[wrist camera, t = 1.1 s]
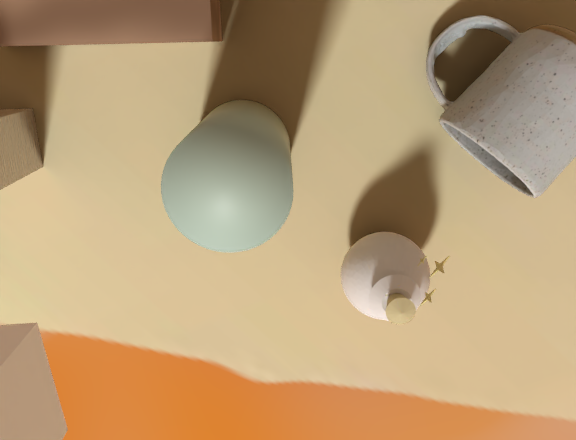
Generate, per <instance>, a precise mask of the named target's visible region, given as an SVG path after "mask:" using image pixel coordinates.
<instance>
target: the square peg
mask: <svg viewBox="0 0 576 440" xmlns="http://www.w3.org/2000/svg"><path fill="white" fill-rule="evenodd" d="M42 167H43V163H42V157H41V152H40V146H39V140H38V135H37V129H36V124H35V118H34V113H33V108H30V109H0V190H1V189H3V188H4V187H6V186H8V185H10V184H12V183H14V182H16V181H17V180H19V179H21V178H23V177H25V176H27V175H29V174H30V173H32V172H34V171H36V170H38V169H40V168H42Z"/></svg>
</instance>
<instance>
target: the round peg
mask: <svg viewBox="0 0 576 440" xmlns="http://www.w3.org/2000/svg"><path fill="white" fill-rule="evenodd" d="M161 194H162V199H163V203H164V207H165V210H166V212H167V214H168V216H169V218H170V219H171V221H172V223H173V224H174V225H175V227H176V228H177V229H178V230H179V231H180V232H181V233H182V234H183V235H184V236H185V237H187V238H188V239H189V240H191V241H192V242H194V243H196V244H197V245H199V246H202V247H204V248H206V249H210V250H213V251H219V252H241V251H245V250H249V249H252V248H255V247H257V246H259V245H261V244H263V243H264V242H266V241H267V240H269V239H270V238H271V237H273V236H274V235H275V234H276V233H277V232H278V230H279V229H280V228H281V227H282V225H283V224H284V222H285V221H286V219H287V217H288V215H289V212H290V209H291V205H292V200H293V179H292V166H291V152H290V140H289V136H288V132H287V130H286V127H285V126H284V124H283V122H282V121H281V119H280V118H279V117H278V116H277V115H276V113H274V112H273V111H272V110H271V109H269V108H268V107H266V106H265V105H262V104H260V103H258V102H254V101H250V100H234V101H229V102H226V103H224V104H221V105H220V106H218V107H216V108H215V109H213V110H212V111H211V112H210V113H209V114H208V115H207V116H206V117H205V118H204V119H203V120H202V121H201V122H200V123H199V124H198V125H197V126H196V127H195V128H194V129H193V130H192V131H191V132H190V133H189V134H188V135H187V136H186V137H185V138H184V139H183V140H182V141H181V142H180V143H179V144H178V145H177V146H176V148H175V149H174V150H173V152H172V153H171V154H170V156H169V158H168V160H167V162H166V164H165V167H164V170H163V174H162V181H161Z"/></svg>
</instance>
